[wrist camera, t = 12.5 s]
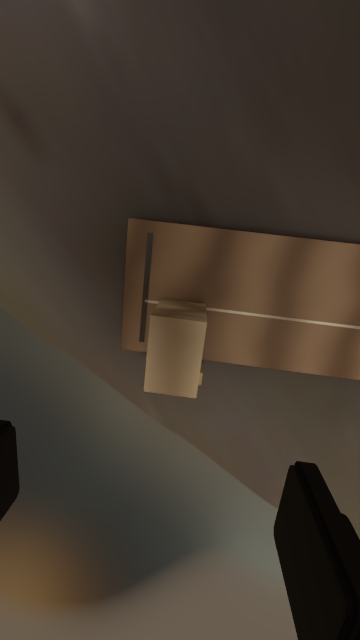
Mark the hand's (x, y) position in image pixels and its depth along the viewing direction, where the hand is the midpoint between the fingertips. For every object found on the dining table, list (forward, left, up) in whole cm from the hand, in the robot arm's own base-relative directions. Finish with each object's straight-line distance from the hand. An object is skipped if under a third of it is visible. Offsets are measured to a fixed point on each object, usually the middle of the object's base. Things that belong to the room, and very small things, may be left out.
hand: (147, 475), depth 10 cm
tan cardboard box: (0, +1, -20) cm, 20 cm away
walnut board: (-9, -3, -20) cm, 23 cm away
